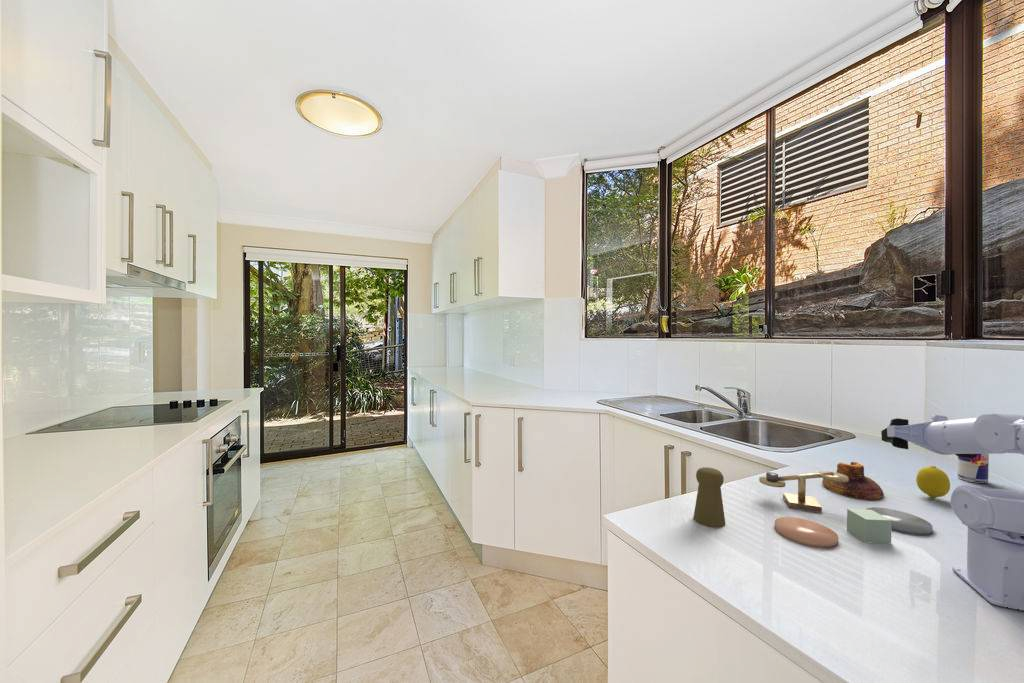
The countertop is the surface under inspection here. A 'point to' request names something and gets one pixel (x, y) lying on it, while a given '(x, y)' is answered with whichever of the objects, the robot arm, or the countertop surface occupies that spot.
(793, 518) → the peach glossy disc
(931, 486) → the lemon
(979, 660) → the countertop surface
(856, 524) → the block
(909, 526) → the glossy grey dome
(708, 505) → the olive pawn
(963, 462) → the energy drink
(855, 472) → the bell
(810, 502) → the balance
